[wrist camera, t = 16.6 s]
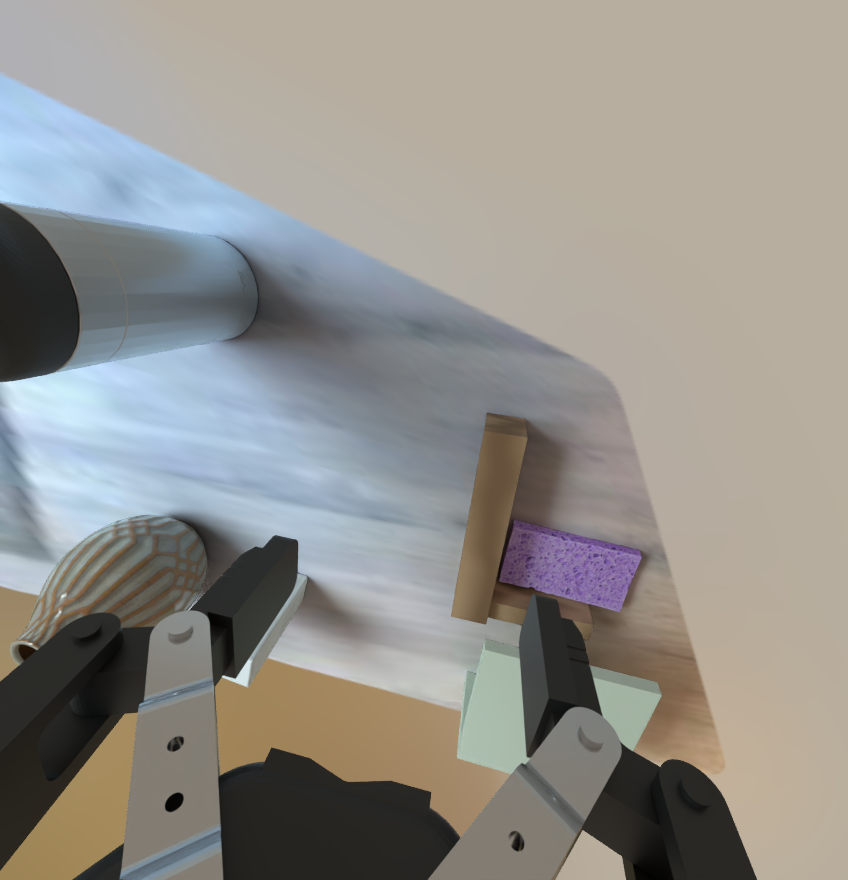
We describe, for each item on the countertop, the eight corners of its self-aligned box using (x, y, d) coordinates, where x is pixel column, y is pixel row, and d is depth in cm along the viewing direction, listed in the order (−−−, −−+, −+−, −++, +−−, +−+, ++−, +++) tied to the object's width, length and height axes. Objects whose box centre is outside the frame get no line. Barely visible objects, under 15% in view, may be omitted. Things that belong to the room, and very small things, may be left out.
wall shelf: (464, 682, 50) (456, 761, 42) (488, 581, 44) (484, 649, 36) (588, 715, 48) (605, 804, 40) (631, 614, 42) (661, 695, 34)
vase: (242, 584, 52) (122, 720, 35) (158, 585, 55) (13, 710, 39) (207, 492, 47) (53, 600, 31) (118, 499, 50) (-64, 599, 34)
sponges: (513, 516, 41) (513, 526, 40) (640, 546, 40) (646, 558, 38) (498, 570, 44) (497, 582, 42) (616, 600, 43) (621, 614, 41)
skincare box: (260, 584, 51) (192, 667, 40) (264, 558, 49) (194, 637, 38) (304, 601, 50) (248, 689, 40) (310, 576, 49) (252, 661, 38)
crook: (456, 582, 45) (451, 616, 40) (487, 412, 38) (484, 430, 33) (581, 610, 43) (590, 648, 39) (639, 437, 36) (658, 460, 31)
